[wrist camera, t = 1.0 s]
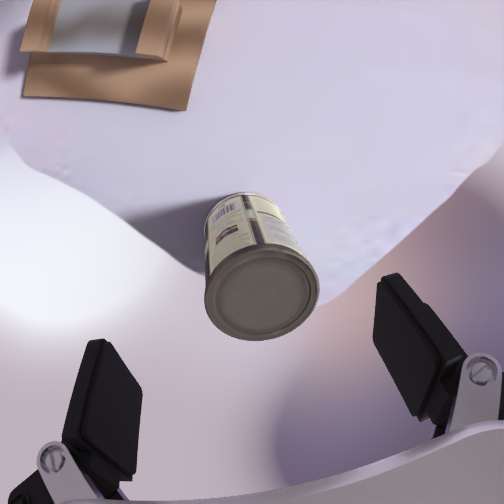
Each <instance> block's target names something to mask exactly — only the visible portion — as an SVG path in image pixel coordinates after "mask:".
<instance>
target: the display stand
mask: <svg viewBox="0 0 504 504" xmlns="http://www.w3.org/2000/svg"><path fill="white" fill-rule="evenodd" d="M216 1H217V0H33V3H32V6H31V10H30V13H29V17H28V20H27V24H26V28H25V31H24V35H23V40H22V44H21V48H20V52H31V55H30V59H29V65H28V70H27V76H26V82H25V88H24V95H23V96H44V97H68V98H84V99H96V100H107V101H117V102H126V103H134V104H142V105H149V106H156V107H163V108H169V109H175V110H181V111H186V109H187V104H188V100H189V96H190V92H191V88H192V84H193V80H194V76H195V72H196V68H197V65H198V61H199V57H200V54H201V50H202V46H203V43H204V39H205V36H206V33H207V29H208V26H209V23H210V19H211V16H212V13H213V10H214V7H215V4H216Z"/></svg>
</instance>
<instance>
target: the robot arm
mask: <svg viewBox="0 0 504 504" xmlns="http://www.w3.org/2000/svg"><path fill="white" fill-rule="evenodd" d="M373 342H374V345H375V346H376V348H377V350H378V352H379V354H380V356H381V357H382V359H383V361H384V363H385V365H386V367H387V369H388V371H389V372H390V374H391V376H392V378H393V380H394V382H395V384H396V386H397V387H398V390H399V392H400V393H401V395H402V397H403V399H404V401H405V403H406V405H407V407H408V409H409V411H410V413H411V415H412V416H417V417H418V419H419V421H420V422H421V421H424V420H425V419H428V418H430V419H431V421H432V423H433V424H434V428H433V431H432V434H431V438H430V440H429V441H427V442H425V443H423V444H420V445H418V446H416V447H413V448H411V449H409V450H406V451H404V452H401V453H398V454H396V455H393V456H391V457H388V458H385V459H383V460H380V461H377V462H375V463H372V464H369V465H366V466H363V467H360V468H357V469H354V470H351V471H348V472H344V473H341V474H338V475H334V476H331V477H327V478H324V479H320V480H316V481H312V482H308V483H304V484H299V485H295V486H290V487H286V488H281V489H275V490H270V491H265V492H259V493H252V494H246V495H238V496H231V497H221V498H211V499H198V500H180V501H129V499H128V498H127V497H126V496H125V494H124V493H123V492H122V490H121V489H120V488H119V481H132V476H133V474H135V473H136V466H137V451H138V437H139V426H140V415H141V405H142V396H143V394H142V389H141V387H140V385H139V384H138V382H137V381H136V379H135V378H134V377H133V375H132V374H131V373H130V371H129V370H128V368H127V367H126V365H125V363H124V362H123V361H122V359H121V358H120V356H119V354H118V353H117V351H116V350H115V348H114V347H113V345H112V344H111V343H110V342H107V341H106V340H105V339H97V340H91V341H89V342H88V344H87V346H86V349H85V352H84V355H83V359H82V362H81V365H80V369H79V372H78V375H77V379H76V382H75V386H74V389H73V393H72V397H71V400H70V404H69V408H68V412H67V416H66V420H65V424H64V428H63V433H62V441H61V442H57V441H53V442H49V443H47V444H45V445H44V446H43V447H42V448H41V450H40V451H39V453H38V456H37V466H38V470H36V471H35V472H34V473H33V474H32V475H30V476H29V477H28V478H27V479H26V480H25V481H23V482H22V483H21V484H20V485H18V486H17V487H16V488H15V489H14V490H13V491H12V492H11V493H10V496H9V499H8V504H504V372H502V369H501V366H500V364H499V362H498V361H497V360H496V359H495V358H494V357H492V356H491V355H488V354H485V353H475V354H472V355H470V356H469V357H468V356H467V354H466V353H465V352H464V350H463V349H462V348H461V346H460V345H459V344H458V342H457V341H456V340H455V338H454V337H453V336H452V334H451V333H450V332H449V330H448V329H447V328H446V326H445V325H444V324H443V323H442V321H441V320H440V319H439V317H438V316H437V315H436V314H435V312H434V311H433V310H432V309H431V307H430V306H429V305H428V304H426V303H423V302H422V301H421V299H420V298H419V297H418V296H417V295H416V293H415V292H414V291H413V289H412V288H411V287H410V286H409V285H408V284H407V282H406V281H405V280H404V279H403V277H402V276H401V275H400V274H399V273H394V274H390V275H387V276H383V277H382V278H381V282H378V283H377V293H376V306H375V317H374V328H373Z"/></svg>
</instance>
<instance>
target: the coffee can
mask: <svg viewBox="0 0 504 504" xmlns="http://www.w3.org/2000/svg"><path fill="white" fill-rule="evenodd" d="M204 238H205V280H206V288H205V296H204V302H205V309H206V312H207V314H208V316H209V318H210V320H211V321H212V322H213V324H214V325H215V326H216V327H217V328H218V329H219V330H221V331H222V332H224V333H225V334H227V335H229V336H231V337H234V338H238V339H242V340H248V341H263V340H268V339H273V338H277V337H280V336H282V335H285V334H287V333H288V332H291V331H293V330H294V329H296V328H297V327H298V326H300V325H301V324H302V323H303V322H304V321H305V320H306V319H307V318H308V317H309V316H310V314H311V313H312V311H313V310H314V308H315V306H316V303H317V301H318V297H319V280H318V277H317V274H316V272H315V270H314V268H313V267H312V265H311V264H310V263H309V261H308V260H307V259H306V257H305V255H304V253H303V251H302V250H301V248H300V246H299V244H298V243H297V241H296V239H295V237H294V235H293V234H292V232H291V230H290V228H289V226H288V225H287V223H286V221H285V219H284V218H283V215H282V213H281V211H280V209H279V208H278V207H277V205H276V204H275V203H274V202H272V201H271V200H270V199H268V198H266V197H265V196H263V195H259V194H256V193H249V192H243V193H237V194H233V195H230V196H228V197H226V198H224V199H222V200H221V201H220V202H218V203H217V204H216V205H215V206H214V207H213V208H212V209H211V211H210V212H209V214H208V215H207V218H206V221H205V225H204Z"/></svg>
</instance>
